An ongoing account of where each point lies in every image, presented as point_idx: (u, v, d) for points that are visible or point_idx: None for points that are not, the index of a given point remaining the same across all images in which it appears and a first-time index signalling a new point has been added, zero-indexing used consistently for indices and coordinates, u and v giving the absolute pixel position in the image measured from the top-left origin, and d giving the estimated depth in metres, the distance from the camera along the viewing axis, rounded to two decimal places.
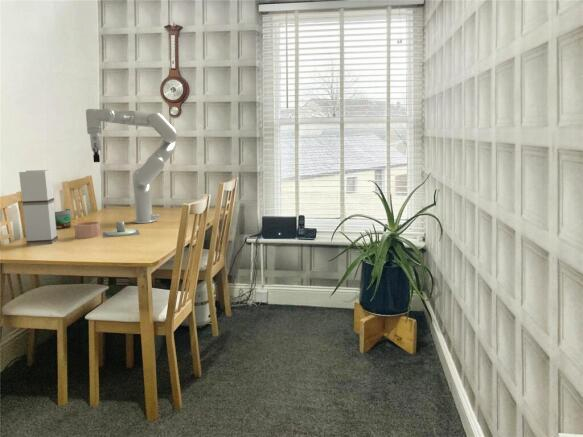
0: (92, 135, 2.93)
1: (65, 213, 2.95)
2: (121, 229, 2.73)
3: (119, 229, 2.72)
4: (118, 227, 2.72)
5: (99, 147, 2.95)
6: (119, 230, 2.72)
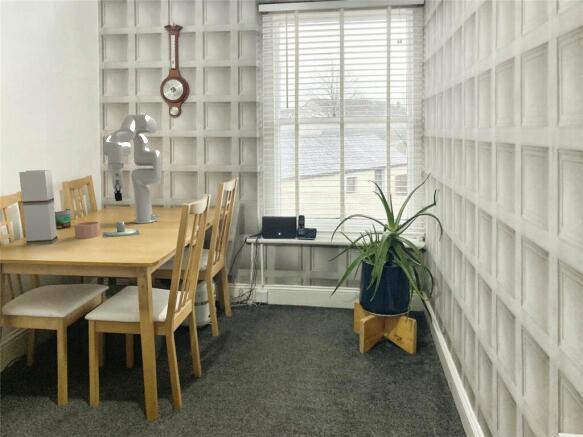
0: (114, 171, 2.65)
1: (65, 213, 2.95)
2: (121, 229, 2.73)
3: (119, 229, 2.72)
4: (118, 227, 2.72)
5: (121, 184, 2.67)
6: (119, 230, 2.72)
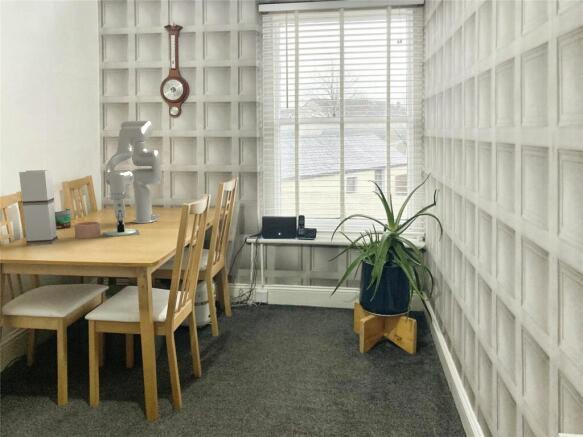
0: (116, 201, 2.68)
1: (65, 213, 2.95)
2: None
3: None
4: None
5: (124, 214, 2.69)
6: None
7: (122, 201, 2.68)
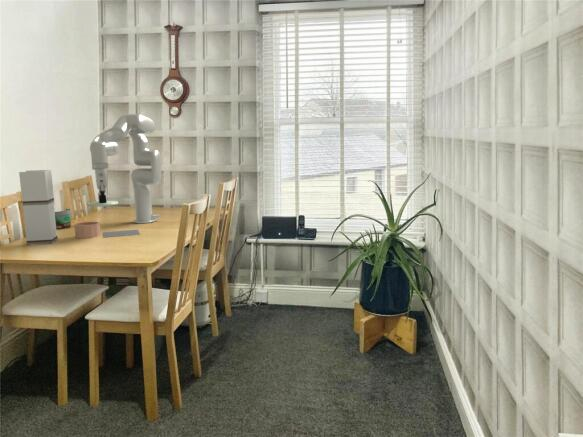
0: (98, 171, 2.63)
1: (65, 213, 2.95)
2: None
3: None
4: None
5: (106, 184, 2.64)
6: None
7: (104, 171, 2.64)
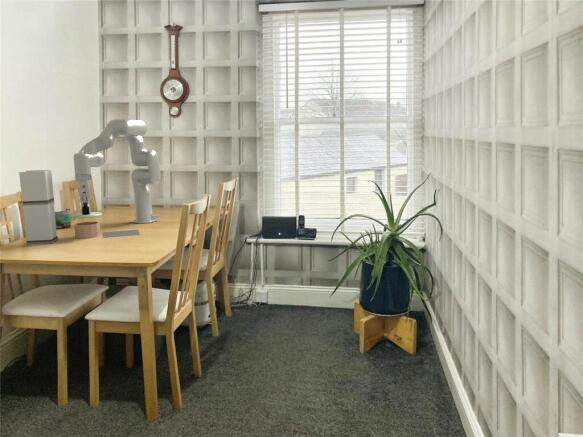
0: (80, 183, 2.61)
1: (65, 213, 2.95)
2: None
3: None
4: None
5: (88, 196, 2.63)
6: None
7: (87, 183, 2.62)
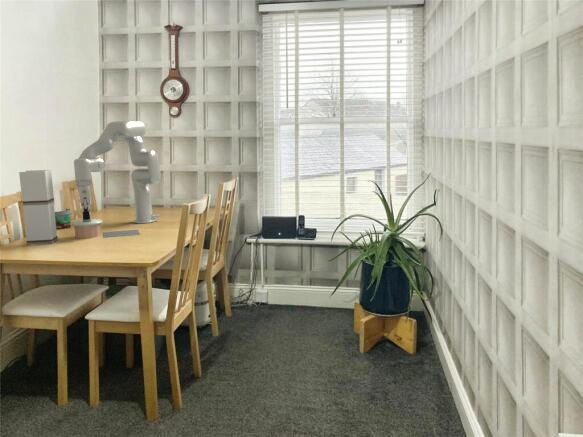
0: (81, 188, 2.62)
1: (65, 213, 2.95)
2: None
3: None
4: None
5: (89, 201, 2.63)
6: (85, 220, 2.67)
7: (87, 188, 2.63)
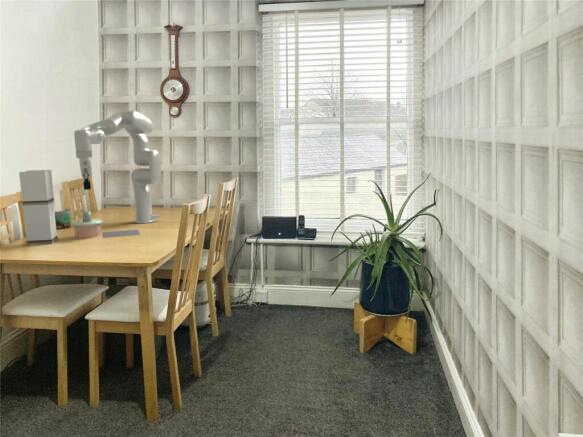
0: (82, 159, 2.62)
1: (65, 213, 2.95)
2: (87, 219, 2.67)
3: (85, 219, 2.67)
4: (84, 217, 2.67)
5: (90, 173, 2.64)
6: (85, 220, 2.67)
7: (88, 159, 2.63)
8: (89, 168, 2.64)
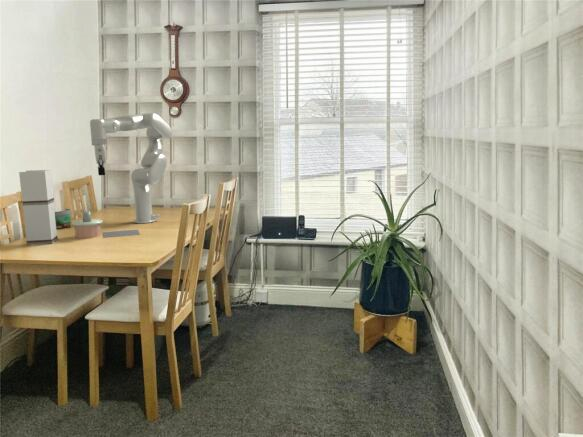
0: (97, 147, 2.78)
1: (65, 213, 2.95)
2: (87, 219, 2.67)
3: (85, 219, 2.67)
4: (84, 217, 2.67)
5: (104, 159, 2.80)
6: (85, 220, 2.67)
7: (102, 146, 2.79)
8: (104, 155, 2.80)
